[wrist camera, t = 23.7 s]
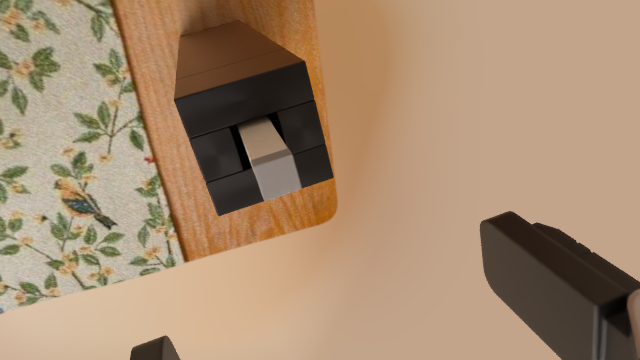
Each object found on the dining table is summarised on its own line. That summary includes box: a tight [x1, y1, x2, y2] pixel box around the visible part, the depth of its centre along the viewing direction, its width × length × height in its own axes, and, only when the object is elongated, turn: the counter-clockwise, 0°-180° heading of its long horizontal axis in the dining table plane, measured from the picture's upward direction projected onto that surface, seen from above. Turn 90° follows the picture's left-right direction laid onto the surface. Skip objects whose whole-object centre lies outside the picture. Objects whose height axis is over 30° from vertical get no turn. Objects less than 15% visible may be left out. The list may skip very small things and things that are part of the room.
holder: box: [174, 20, 334, 216], centre depth 37 cm, size 6×6×30 cm
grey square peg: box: [236, 115, 302, 201], centre depth 23 cm, size 2×2×10 cm
